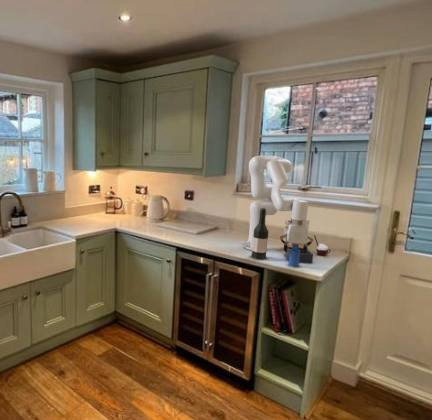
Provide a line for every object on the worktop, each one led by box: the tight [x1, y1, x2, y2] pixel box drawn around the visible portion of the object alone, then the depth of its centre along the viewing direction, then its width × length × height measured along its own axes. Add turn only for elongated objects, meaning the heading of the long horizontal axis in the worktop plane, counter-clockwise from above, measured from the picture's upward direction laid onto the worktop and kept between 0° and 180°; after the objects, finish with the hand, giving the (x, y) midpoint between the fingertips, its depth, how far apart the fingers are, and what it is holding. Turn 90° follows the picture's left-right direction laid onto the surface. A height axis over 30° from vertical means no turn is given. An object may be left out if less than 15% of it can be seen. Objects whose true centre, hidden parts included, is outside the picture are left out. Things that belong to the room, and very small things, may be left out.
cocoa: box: [313, 235, 331, 256], centre depth 222 cm, size 10×6×12 cm, turn 53°
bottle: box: [288, 244, 300, 268], centre depth 201 cm, size 5×5×12 cm
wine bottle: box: [251, 208, 269, 261], centre depth 213 cm, size 8×8×30 cm
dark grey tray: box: [284, 247, 314, 264], centre depth 214 cm, size 12×14×5 cm
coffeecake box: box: [281, 218, 311, 250], centre depth 234 cm, size 15×7×20 cm, turn 115°
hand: (294, 252), depth 200 cm, fingers open, 9 cm apart
